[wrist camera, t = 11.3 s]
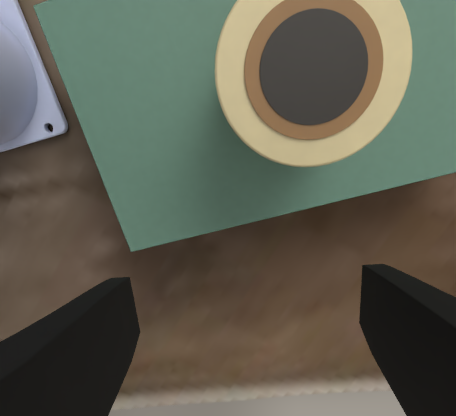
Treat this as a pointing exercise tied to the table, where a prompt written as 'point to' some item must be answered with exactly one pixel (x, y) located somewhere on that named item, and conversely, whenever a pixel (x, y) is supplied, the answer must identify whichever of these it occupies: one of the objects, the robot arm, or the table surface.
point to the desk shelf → (224, 118)
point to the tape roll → (312, 75)
